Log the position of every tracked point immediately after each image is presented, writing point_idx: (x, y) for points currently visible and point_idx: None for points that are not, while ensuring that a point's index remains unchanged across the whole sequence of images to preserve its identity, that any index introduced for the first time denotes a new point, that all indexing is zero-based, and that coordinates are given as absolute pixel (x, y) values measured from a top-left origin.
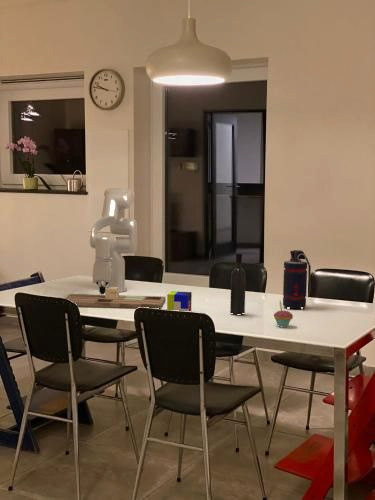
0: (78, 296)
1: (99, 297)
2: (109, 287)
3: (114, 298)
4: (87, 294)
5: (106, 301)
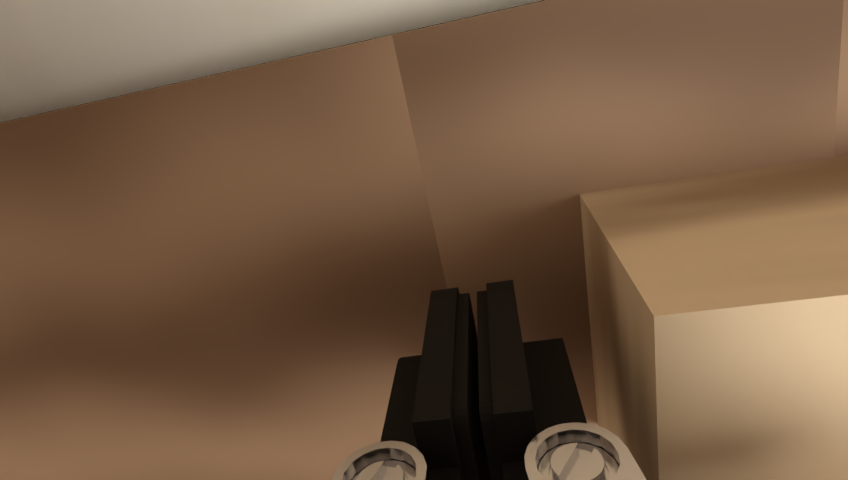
0: (27, 409)
1: None
2: (757, 405)
3: None
4: (8, 130)
5: None
